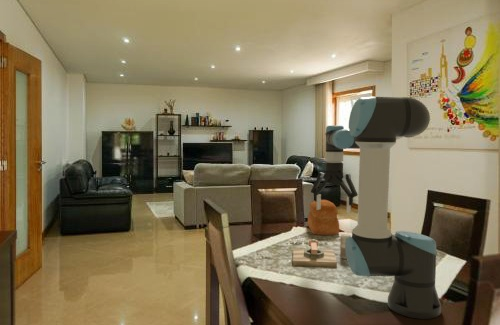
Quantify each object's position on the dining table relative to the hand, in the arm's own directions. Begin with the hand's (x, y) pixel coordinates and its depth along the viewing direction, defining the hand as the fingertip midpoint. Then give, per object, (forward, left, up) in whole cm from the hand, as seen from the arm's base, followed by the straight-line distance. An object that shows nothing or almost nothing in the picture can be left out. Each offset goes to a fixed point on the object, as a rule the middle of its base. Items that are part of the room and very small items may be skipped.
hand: (333, 211), depth 163 cm
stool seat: (+1, +8, -22) cm, 23 cm away
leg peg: (+6, -6, -22) cm, 23 cm away
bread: (+58, +1, -22) cm, 62 cm away
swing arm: (+3, +8, -18) cm, 20 cm away
